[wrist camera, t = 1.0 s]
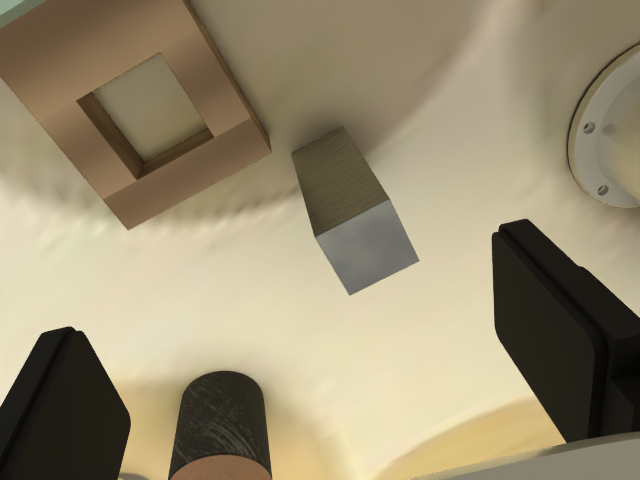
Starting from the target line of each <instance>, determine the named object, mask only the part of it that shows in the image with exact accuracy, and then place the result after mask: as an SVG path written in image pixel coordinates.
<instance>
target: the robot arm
mask: <svg viewBox="0 0 640 480" xmlns="http://www.w3.org/2000/svg"><path fill="white" fill-rule="evenodd" d="M568 157H569V164H570V168H571V170H572V173H573V176H574V178H575V180H576V181H577V182H578V184H579V185H580V187H581V188H582V189H583V190H584V191H586V192H587V193H588V194H589V195H590V196H592V197H594V198H595V199H597V200H599V201H600V202H602V203H604V204H607V205H611V206H614V207H622V208H633V207H640V45H637V46H635V47H633V48H632V49H630V50H629V51H627V52H626V53H625V54H623V55H622V56H620V57H619V58H617V59H616V60H615V61H614V62H613V63H612V64H611V65H610V66H609V67H607V68H606V69H605V70H604V71H603V72H602V73H601V75H600V76H599V77H598V78H597V79H596V81H595V82H594V83H593V84H592V85H591V87H590V88H589V90H588V91H587V93H586V95H585V96H584V98H583V100H582V101H581V103H580V105H579V107H578V110H577V112H576V114H575V117H574V119H573V122H572V126H571V130H570V134H569V143H568ZM492 262H493V292H494V321H495V330H496V333H497V336H498V338H499V340H500V342H501V343H502V345H503V346H504V348H505V350H506V351H507V353H508V354H509V356H510V357H511V359H512V360H513V362H514V363H515V365H516V366H517V368H518V369H519V371H520V372H521V374H522V375H523V377H524V379H525V380H526V382H527V383H528V385H529V386H530V388H531V389H532V391H533V392H534V394H535V395H536V397H537V398H538V400H539V401H540V403H541V404H542V406H543V408H544V409H545V411H546V412H547V414H548V415H549V417H550V418H551V420H552V421H553V423H554V424H555V426H556V427H557V429H558V430H559V432H560V433H561V435H562V436H563V438H564V440H565V441H566V444H561V445H556V446H552V447H547V448H542V449H538V450H533V451H529V452H524V453H519V454H515V455H510V456H506V457H501V458H497V459H492V460H488V461H484V462H479V463H475V464H471V465H467V466H462V467H458V468H454V469H450V470H445V471H441V472H437V473H432V474H428V475H424V476H420V477H415V478H411V479H407V480H640V318H639V317H638V316H637V315H636V314H635V313H634V312H633V311H632V310H631V309H629V308H628V307H627V306H626V305H625V304H624V303H623V302H622V301H621V300H620V299H619V298H617V297H616V296H615V295H614V294H613V293H612V292H611V291H610V290H609V289H608V288H607V287H606V286H604V285H603V284H602V283H601V282H600V281H599V280H598V279H597V278H596V277H595V276H594V275H592V274H591V273H590V272H589V271H588V270H587V269H585V268H584V267H580V266H578V265H576V264H575V263H574V262H573V261H572V260H571V259H570V258H569V257H568V256H567V255H566V254H565V253H564V252H563V251H562V250H560V249H559V248H558V247H557V246H556V245H555V244H554V243H553V242H552V241H551V240H550V239H549V238H548V237H547V236H545V235H544V234H543V233H542V232H541V231H540V230H539V229H538V228H537V227H536V226H535V225H534V224H533V223H532V222H530V221H529V220H528V219H522V220H518V221H513V222H509V223H505V224H501V225H500V226H499V230H498V232H495V233H493V234H492ZM130 427H131V420H130V415H129V412H128V410H127V409H126V407H125V405H124V403H123V401H122V400H121V398H120V396H119V394H118V392H117V391H116V389H115V387H114V385H113V383H112V382H111V380H110V378H109V376H108V375H107V373H106V371H105V369H104V367H103V366H102V364H101V362H100V360H99V358H98V357H97V355H96V353H95V351H94V349H93V348H92V346H91V344H90V342H89V340H88V339H87V337H86V335H85V334H84V333H83V332H82V331H76V330H75V329H74V328H73V327H69V326H68V327H64V328H60V329H56V330H51V331H47V332H44V333H42V334H41V335H40V337H39V338H38V340H37V342H36V344H35V346H34V347H33V349H32V351H31V353H30V355H29V356H28V358H27V360H26V362H25V364H24V365H23V367H22V369H21V371H20V373H19V374H18V376H17V378H16V380H15V382H14V384H13V385H12V387H11V389H10V391H9V393H8V394H7V396H6V398H5V400H4V402H3V403H2V405H1V407H0V480H118V476H119V472H120V468H121V464H122V460H123V456H124V452H125V448H126V444H127V440H128V436H129V432H130Z"/></svg>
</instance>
